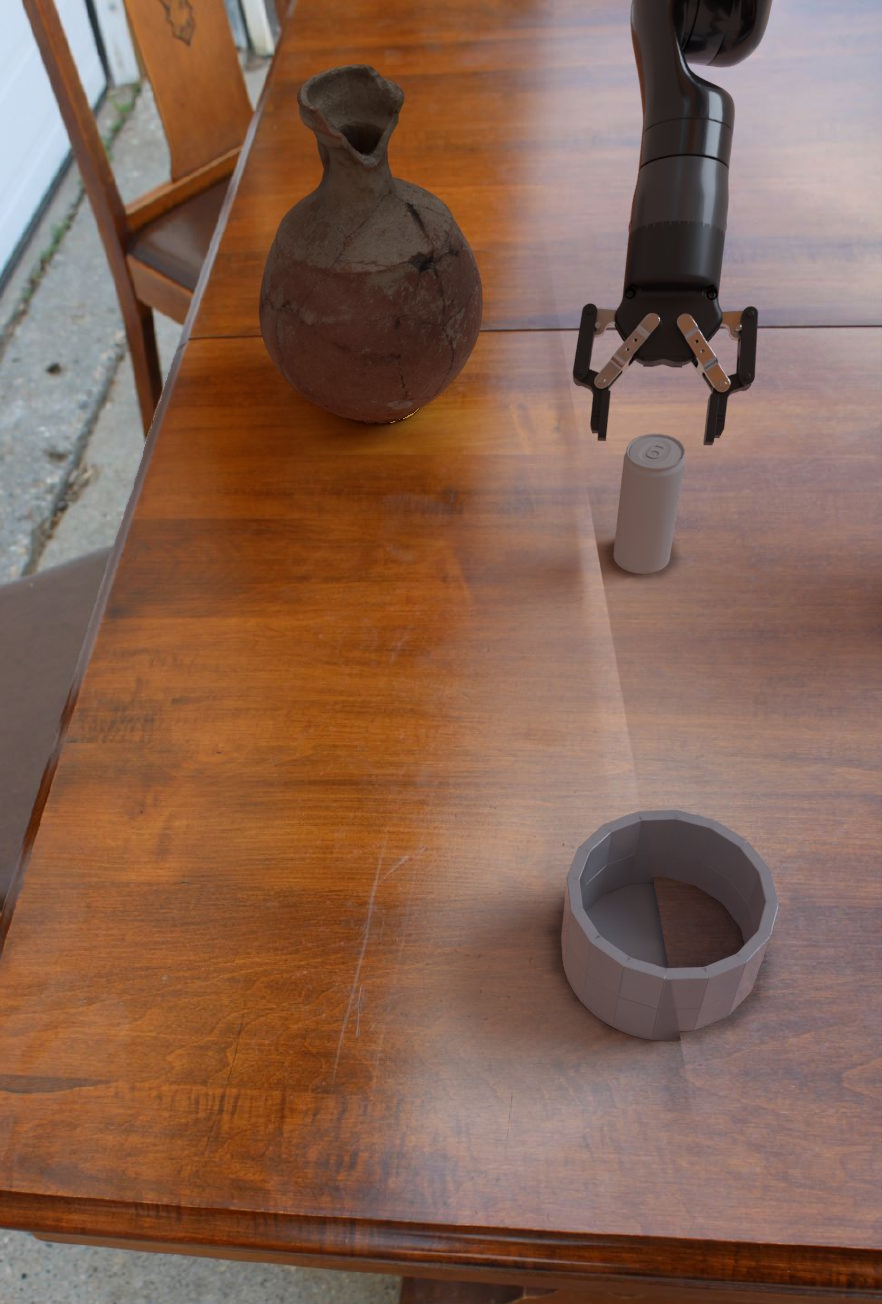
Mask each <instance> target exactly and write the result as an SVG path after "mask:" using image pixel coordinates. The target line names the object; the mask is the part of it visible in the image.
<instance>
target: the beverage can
mask: <svg viewBox="0 0 882 1304" xmlns="http://www.w3.org/2000/svg"><path fill="white" fill-rule="evenodd" d="M686 459H687V457H686V448H685V445H684V444H683V443H682V441H680V440H679V439H677V438H676V437H674V436H672V435H668V434H664V433H646V434H643V435H639V436H637V437H635V438H633V439H631V441H630V442H629V443H628V445H627V446H626V450H625V452H624V455H623V463H622V472H621V482H620V491H619V499H618V509H617V518H616V526H615V527H616V528H615V536H614V545H613V554H612V556H613V559H614V562H615V563H616V564H617V566H618V567H620V568H621V569H622V570H624V571H627V572H629V573H633V574H640V575H641V574H642V575H646V574H647V575H648V574H654V573H656V572H660V571H661V570H663V569H664V568H666V566H667V565H669V562H670V559H671V553H672V547H673V540H674V534H675V528H676V522H677V516H678V509H679V504H680V498H681V493H682V487H683V482H684V481H683V480H684V475H685V467H686V461H687V460H686Z"/></svg>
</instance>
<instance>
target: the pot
mask: <svg viewBox="0 0 882 1304" xmlns="http://www.w3.org/2000/svg"><path fill="white" fill-rule="evenodd" d="M654 878H667V879H670V880H672V881H673V880H674V881H678V882H681V883H684V884H688V885H691V886H696V888H698V889H700V890H701V891H702V892H704V893H706V894H707V895H709V896H710V897H712V898H713V899H714V900H716V901H718V902H719V903H720V904H722V905H723V906H724V908H725V909H726V910H727V912H728V913H729V915H730V916H731V917H732V919H733V920H734V921H735V923H736V924H737V926H738V927H739V928H740V931H741V935H742V936H741V937H742V940H743V946H742V947H741V948H740V949H739V950H738V951H737V952H736V953H734V954H732V955H730V956H727V957H725V958H722V959H719V960H718V961H715V962H712V963H711V964H708V965H705V966H697V967H695V966H694V967H690V966H689V967H669V961H668V955H667V950H666V943H665V939H664V932H663V926H662V921H661V920H662V919H661V914H660V909H659V902H658V897H657V891H656V886H655V885H656V883H655V879H654ZM774 881H775V880H774V877H773V873H772V871H771V868H770V867H769V865H768V864H767V863H766V861H765V860H764V859H763V858H762V856H761V855H760V854H759V853H758V851H757V850H756V849H755V848H754V846H753V845H752V843H751V842H750V841H749V840H748V839H746V838H744V837H743V836H741V835H739V834H738V833H736V832H735V831H733V830H732V829H730V828H729V827H728V826H726V825H725V824H722V823H721V822H719V821H718V820H716V819H713V818H710V817H705V816H702V815H699V814H694V813H691V812H688V811H683V810H679V809H659V810H638V811H634V812H632V813H629V814H627V815H624V816H622V817H618V818H617V819H613V820H611V821H610V822H606V823H604V824H602V825H601V826H600V827H599V828H598V829H597V830H596V831H595V832H594V833H592V834H591V835H590V836H589V837H588V838H587V839H586V840H585V841H584V842H583V843H582V844H581V845H580V846H579V847H578V848H577V849H576V852H575V856H574V858H573V859H572V862H571V865H570V867H569V871H568V873H567V874H566V882H565V893H564V904H563V914H562V924H561V935H560V943H561V959H562V965H563V970H564V973H565V977H566V979H567V982H568V984H569V985H570V987H571V989H572V991H573V993H574V994H575V996H576V997H577V999H578V1000H579V1001H580V1002H581V1003H582V1005H584V1006H585V1008H586V1009H587V1010H588V1011H589V1012H591V1014H593V1015H594V1016H595V1017H596V1018H598V1019H599V1020H600V1021H602V1022H603V1023H605V1024H607V1025H608V1026H610V1027H612V1028H613V1029H616V1030H617V1031H619V1032H622V1033H624V1034H628V1035H629V1036H633V1037H636V1038H640V1039H644V1040H651V1041H657V1042H658V1041H659V1042H661V1041H662V1042H676V1041H682V1038H681V1032H693V1031H696V1030H699V1029H701V1028H704V1027H706V1026H708V1025H710V1024H713V1023H715V1022H718V1021H720V1020H723V1019H725V1018H727V1017H729V1016H730V1015H731V1014H732V1013H733V1012H734V1011H735V1010H736V1009H737V1008H738V1006H739V1005H740V1004H741V1003H742V1002H743V1001H744V1000H746V998H747V997H748V995H750V993H751V992H752V991H753V989H754V986H755V983H756V980H757V977H758V974H759V971H760V969H761V966H762V962H763V961H764V957H765V954H766V951H767V948H768V945H769V942H770V940H771V937H772V933H773V931H774V930H773V929H774V926H775V922H776V919H777V915H778V910H779V907H780V902H779V898H778V894H777V893H778V892H777V889H776V886H775V882H774Z"/></svg>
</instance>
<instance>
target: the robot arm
mask: <svg viewBox="0 0 882 1304" xmlns="http://www.w3.org/2000/svg"><path fill="white" fill-rule="evenodd" d="M773 2H774V1H773V0H631V5H630V17H629V18H630V19H629V20H630V23H629V24H630V35H631V43H632V49H633V55H634V61H635V67H636V71H637V77H638V84H639V92H640V100H641V101H640V102H641V112H642V129H641V141H640V152H639V159H638V172H637V179H636V184H635V186H634V187H635V188H634V191H633V197H632V202H631V209H630V218H629V219H630V220H629V223H628V237H627V248H626V257H625V258H626V259H625V266H624V268H625V269H624V276H623V277H624V278H623V288H622V297H621V302H620V303H619V306H617V309H610V308H598V307H597V305H596V304H594V303H590V302H589V303H587V304H585V305H584V306H583V308H582V310H581V316H580V323H579V328H578V336H577V343H576V347H575V354H574V355H575V356H574V362H573V369H572V380H573V383H574V385H575V386H577V387H582V388H585V389H588V390H589V391H590V392H591V394H592V400H591V401H592V402H591V411H590V422H589V428H590V431H591V434H597V442H606V441H607V434H608V424H609V413H610V403H611V393H612V392H611V388H612V387H613V386H614V385H615V383H616V382H617V381H618V380H619V379H620V378H621V377H622V376H623V375H624V374H625V373H626V372H627V371H628V370H629V369H630V367H632V365H633V364H634V363H635V362H636V363H638V364H640V365H642V367H643V368H653V367H658V366H666V367H669V368H680V369H681V368H683V367H684V366H687V365H689V364H691V365H692V367H693V369H694V370H695V372H696V373H697V375H698V376H699V378H701V379H702V380H703V382H704V384H705V385H706V387H707V388H708V390H709V391H710V394H709V397H708V399H707V407H706V408H707V409H706V414H705V424H704V433H703V441H702V445H703V446H713V445H714V443H715V439H720V438H721V436H722V434H723V433H724V430H725V426H726V416H727V407H728V399H729V397H730V396H731V395H732V394H735V393H739V392H746V391H748V390H749V389H750V387H751V386H752V383H753V382H754V380H755V378H756V363H757V343H758V327H759V311H758V309H757V307H755V306H752V305H750V306H749V305H748V306H747V307H745V308H744V309H743V310H731V311H729V310H728V311H727V310H726V311H722V309H721V308H722V307H721V306H720V302H719V298H720V297H719V296H720V287H721V286H720V285H721V280H722V279H721V277H722V268H723V258H724V250H725V242H726V241H725V240H726V232H727V228H728V213H729V204H730V192H729V191H730V189H729V188H730V187H729V175H730V164H731V155H732V146H733V137H734V132H735V131H734V128H735V119H736V106H735V102H734V99H733V96H732V95H731V94H730V93H729V92H728V91H727V90H726V89H725V88H724V87H721V86H720V85H718V84H716V83H714V82H712V81H708V80H706V79H704V78H703V77H701V76H700V75H698V74H696V73H695V72H694V71H693V70H692V69H691V68H690V66H689V65H697V66H705V67H711V68H712V67H713V68H722V69H724V68H731V67H735V66H737V65H739V64H741V63H742V62H744V61H745V60H746V59H748V58H749V57H750V56H752V54H753V53H754V52H756V50H757V49H758V47H759V46H760V44H761V42H762V40H763V39H764V36H765V34H766V31H767V27H768V23H769V19H770V15H771V10H772V5H773ZM612 325H614V328H615V330H616V332H617V333H618V335H619V337H620V338H621V340H622V342H623V343H622V344H621V345H620V346H619V348H618V349H617V350H616V351H615V352H614V353H613V355H612V356H611V358H610V359H609V361H608V362H607V363H606V364H605V365H604V366H603V367H602V369H601V370H600V371H599V372H598V371H596V370H593V369H591V362H592V354H593V348H594V341H595V339H598V338H599V339H600V338H601V337H603V336H604V334H605V332H606V330H607V329H608V327H609V326H612ZM721 327H723V328H725V329H726V330H727V332H728V337H729V338H730V339H731V341H733V342H737V349H736V365H735V367H736V368H735V369H736V370H735V373H733V374H730V375H727V374H726V372H725V371H724V369H723V367H722V365H721V364H720V362H719V359H718V357H717V355H716V354H715V352H714V350H713V349H712V347H711V346H710V344H709V342H710V341H711V340H712V339H713V338H714V336H715V335H716V334H717V332H718V331H719V330H720V328H721Z"/></svg>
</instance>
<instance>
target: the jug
mask: <svg viewBox="0 0 882 1304" xmlns="http://www.w3.org/2000/svg"><path fill="white" fill-rule="evenodd" d="M405 99H406V97H405V92H404V91H403V89H402V87H401V86H400V85H399V84H398V83H396V82H394V81H391V80H389V79H387V78H385V77H383V76H382V75H381V74H380V73H379V72H378V71H377V70H376V69H375V68H374V67H373V66H371V65H370V64H364V63H363V64H362V63H354V64H352V63H351V64H346V65H341V66H335V67H332V68H329V69H325V70H323V71H320V72H319V73H316V74H314V75H313V76H311V77H309V78H308V79H307V80H305V81H304V82H303V84H302V85H301V86H300V88H299V90H298V91H297V93H296V101H297V104H298V115H299V118H300V121H302V123H303V125H304V126H305V127H306V128H307V129H309V130H311V131H312V132H313V134H314V137H315V138H316V146H317V151H318V154H319V157H320V162H321V164H322V168H323V170H322V178H321V180H320V182H319V184H318V186H317V187H316V188H315V189H314V190H312V192H310V193H309V194H307V195H306V196H304V197H303V198H302V199H300V200H299V201H298V202H296V203H295V205H293V206H292V207H291V208H290V209H289V210H288V211H287V212H286V213H285V215H283V217H282V219H281V221H280V223H279V225H278V226H277V229H276V233H275V236H274V239H273V241H272V243H271V246H270V249H269V251H268V252H269V253H268V255H267V257H266V261H265V265H264V270H263V274H262V279H261V285H260V291H259V300H258V301H259V302H258V318H259V319H258V320H259V327H260V334H261V337H262V340H263V343H264V346H265V349H266V351H267V353H268V355H269V357H270V360H272V363H273V364H274V366H275V367H276V370H278V372H279V373H280V374H281V376H282V377H283V378H284V380H285V381H286V382H287V383H288V384H289V385H290V386H291V387H292V388H293V389H294V390H295V391H296V392H297V393H298V394H300V396H301V397H303V398H305V400H308V401H309V402H311V403H312V404H314V405H315V406H317V407H318V408H321V409H322V410H324V411H326V412H329V413H331V414H334V415H335V416H338V417H341V418H345V419H350V420H354V421H358V422H359V421H362V422H364V423H365V424H366V423H367V424H366V425H369V424H368V423H370V424H376V423H375V422H378V423H377V424H388V423H387V422H393V421H397V420H399V419H403V418H405V417H407V416H408V415H410V414H412V413H414V412H415V411H416V410H417V409H418V408H420V407H421V408H423V407H425V406H427V405H429V404H430V403H431V402H433V401H434V400H436V399H437V398H438V397H439V396H441V395H442V394H443V393H444V392H445V391H446V390H447V389H448V388H449V387H450V386H451V384H452V383H453V382H454V381H456V379H457V377H458V376H459V375H460V374H461V372H462V370H464V368H465V366H466V364H467V362H468V361H469V359H470V357H471V355H472V353H473V351H474V349H475V347H476V344H477V341H478V338H479V336H480V333H481V332H480V331H481V326H482V322H483V321H482V320H483V310H484V306H483V305H484V298H483V297H484V295H483V284H482V279H481V275H480V271H479V267H478V264H477V260H476V258H475V254H474V252H473V249H472V248H471V246H470V244H469V242H468V240H467V238H466V236H465V234H464V233H463V231H462V229H461V228H460V226H459V224H458V223H457V221H456V220H455V217H454V215H453V213H452V211H451V210H450V208H449V206H447V204H446V203H445V202H444V201H443V200H441V198H440V197H438V196H437V195H436V194H434V193H432V192H431V191H430V190H428V189H426V188H425V187H422V186H420V185H418V184H415V183H412V182H410V181H407V180H406V179H405V180H404V179H402V178H399V177H397V176H393V174H392V170H391V167H390V163H389V143H390V139H391V137H392V135H393V133H394V131H395V129H396V127H397V126H398V124H399V119H400V117H399V116H400V113H401V110H402V108H403V105H404V103H405ZM421 408H420V409H421ZM397 422H398V421H397Z"/></svg>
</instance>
